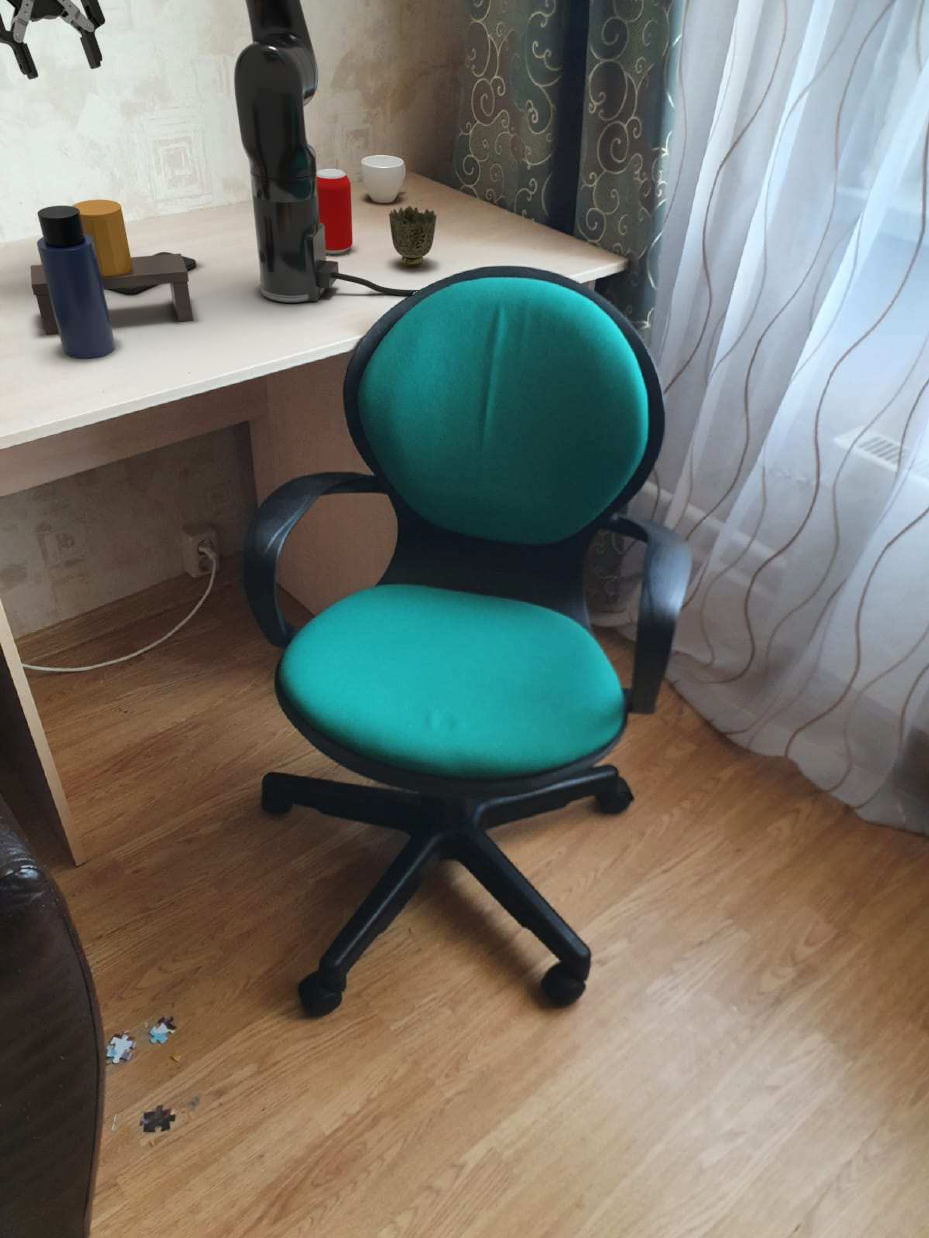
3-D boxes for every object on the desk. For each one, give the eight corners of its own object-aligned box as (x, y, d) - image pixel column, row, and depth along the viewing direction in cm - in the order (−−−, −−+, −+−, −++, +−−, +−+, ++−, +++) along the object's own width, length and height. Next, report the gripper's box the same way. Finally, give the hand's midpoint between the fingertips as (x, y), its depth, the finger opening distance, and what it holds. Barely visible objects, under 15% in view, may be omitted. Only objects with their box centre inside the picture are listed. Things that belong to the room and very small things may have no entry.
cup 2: (443, 262, 156) (444, 211, 150) (422, 276, 150) (423, 224, 145) (402, 253, 158) (402, 203, 153) (381, 267, 153) (380, 216, 147)
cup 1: (353, 199, 178) (352, 161, 174) (388, 188, 184) (388, 150, 180) (385, 209, 175) (384, 169, 170) (419, 197, 181) (420, 159, 177)
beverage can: (308, 247, 158) (303, 171, 150) (338, 240, 161) (335, 165, 153) (329, 258, 155) (325, 180, 147) (360, 251, 158) (358, 174, 150)
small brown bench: (188, 301, 139) (180, 253, 135) (194, 320, 134) (187, 271, 130) (42, 315, 134) (30, 265, 129) (44, 335, 129) (31, 284, 124)
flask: (124, 340, 129) (96, 206, 117) (101, 361, 124) (70, 223, 112) (78, 335, 129) (46, 201, 118) (53, 355, 124) (18, 217, 113)
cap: (140, 262, 132) (129, 202, 126) (119, 279, 127) (107, 217, 122) (97, 257, 132) (84, 197, 127) (75, 274, 128) (61, 212, 122)
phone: (199, 260, 149) (131, 290, 139) (200, 265, 150) (132, 295, 140) (162, 250, 152) (93, 279, 142) (163, 256, 152) (94, 284, 142)
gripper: (-40, -81, 109) (21, 77, 117) (77, -91, 117) (127, 59, 124) (-55, -62, 115) (3, 87, 122) (57, -73, 122) (106, 70, 130)
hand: (65, 73), depth 123 cm, fingers open, 8 cm apart
